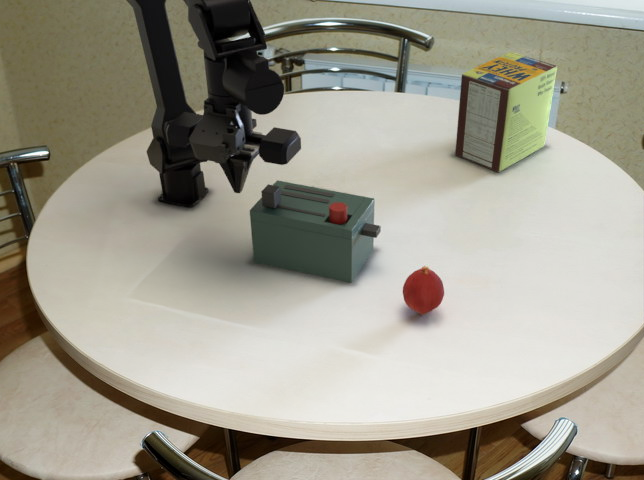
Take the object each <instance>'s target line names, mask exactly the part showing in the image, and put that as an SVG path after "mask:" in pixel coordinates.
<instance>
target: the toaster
mask: <svg viewBox="0 0 644 480" xmlns="http://www.w3.org/2000/svg"><path fill="white" fill-rule="evenodd" d="M272 185H274V186H280V189H281V202H280V203H279V204H278V205H277V206H276V208H270V207H264V206H262V196H261V197H260V198H259V199H258V200H257V202H255V204H254V205H253V206H252V207H250V209H249V220H250V230H251V231H250V232H251V243H252V244H251V245H252V255H253V263H256V264H260V265H265V266H269V267H275V268H279V269H284V270H288V271H292V272H293V271H294V272H298V273H303V274H307V275H311V276H317V277H322V278H327V279H331V280H335V281H340V282H345V283H349V284H352V283H353V282H354V280H355V278H356V277H357V276H358V274H359V272H361V269H362V268H363V266H364V265H365V263H366V262H367V260H368V259H369V257H370V255H371V254H372V253H373V251H374V238H375V239H377V238H378V237H379V235H380V233H381V231H382V229H381V228H382V226H381V225H378V224H375V198H374V197H369V196H364V195H358V194H352V193H348V192H342V191H337V190H331V189H327V188H322V187H321V188H320V187H315V186H310V185H304V184H299V183H293V182H288V181H283V180H279V179H278V180H276V181H275V182H274V183H273V184H272ZM337 202H340V203H344V204H346V205H347V222H346V223H344V224H340V225H338V224H333V223H331V222H330V221H329V206H330V205H331V204H332V203H337Z"/></svg>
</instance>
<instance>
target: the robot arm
mask: <svg viewBox="0 0 644 480" xmlns="http://www.w3.org/2000/svg"><path fill="white" fill-rule="evenodd" d="M125 1H126V2H127V3H128V4H129V5H130V6H131V8H132V10H133V13H134V17H135V21H136V22H135V23H136V25H137V30H138V33H139V34H138V35H139V38H140V42H141V46H142V51H143V55H144V59H145V63H146V68H147V71H148V75H149V79H150V80H149V81H150V84H151V88H152V92H153V96H154V100H155V104H156V109H155V112H154V115H153V119H152V121H151V125H150V127H151V132H152V140H151V142H150V143H149V146H148V147H147V149H146V155H147V159H148V162H149V165H150V166H152V167H153V168H154V169H155V170H156V171H157V172H158V173H159V174H158V175H159V180H160V186H161V192H162V193H161V194H160V195H159V196H158V197H157V201H159V202H160V203H161V202H162V203H165V204H171V205H176V206H181V207H187V208H192V207H194V206H195V205H196V204H197V203H198V202H199V201H200V200H201V199H202V198H203V197H204V196H205V195H206V194H207V193H209V188H208V187H206V182H205V175H204V171H203V170H202V167H201V163H207V162H213V163H215V164H219V166H220V167H221V169H222V171H223V173H224V175H225V177H226V179H227V181H228V182H229V185H230V187H231V188H232V191H233V193H235V194H242V192H243V191H244V187H245V185H246V184H245V183H246V180H247V178H248V176H249V172H250V169H251V167H252V164H253V161H254V160H255V159H256V158H257V157H258V156H259V157H260V158H261V160H262V161H263V162H264V163H268V164H275V165H279V166H284V165H288V164H289V163H290V162H291V160H292V159H293V158H294V157H295V156H296V155H297V154H298V153H299V152H300V151H301V150H302V138H301V136H300V134H299V133H298V132H297V131H296V130H292V129H287V128H281V127H275V126H274V127H273V128H272V129H270V130H269V132H268V133H267V134H264V133H263V132H258V131H254V129H255V128H257V126H258V123H257V118H253V113H254V114H256V115H260V116H261V115H263V116H265V115H268V114H270V113H272V112H274V111H275V110H276V109H277V108H278V107H279V106H280V105H281V102H282V100H284V99H283V98H284V94H285V84H284V82H283V79H282V78H281V76H280V75H279V74H278V72H277V71H275V70H273V69H272V68H270V61H269V59H268V58H267V57H265V56H261V55H258V52H261V51H265V50H267V49H268V45H267V42H266V39H265V36H266V32H265V30H264V28H263V26H262V23H261V21H260V19H259V17H258V15H257V13H256V10H255V8H254V6H253V3H252V1H251V0H182V2H184V3H185V5H186V7H187V22H188V23H189V24H190V27H191V29H192V30H193V32H194V34H195V36H196V38H197V40H198V41H197V47H198V48H199V49H201V50H203V61H204V70H205V79H206V88H207V95H208V96H207V98H206V99H205V100H203V107H202V108H203V114H200V113H197V112H196V111H195V110H194V109H193V108H192V107H191V105H189V103H188V101H187V97H186V92H185V88H184V87H185V86H184V83H183V79H182V73H181V69H180V66H179V61H178V55H177V52H176V46H175V43H174V38H173V34H172V29H171V25H170V19H169V15H168V12H167V7H166V2H167V0H125ZM247 34H248V37H243V38H238V37H240V36H241V37H242V36H245V35H247ZM236 37H237V39H233V40H231V39H232V38H236Z"/></svg>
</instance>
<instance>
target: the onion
mask: <svg viewBox="0 0 644 480" xmlns="http://www.w3.org/2000/svg"><path fill="white" fill-rule="evenodd" d="M402 296H403V301H404V303H405V304H406V305H407V306H408V308H409V309H411V310H412V311H414V312H416V313H417V314H419V315H426V314H428V313H430V312H432V311H435V309H438V307H439V306H440V305H441V304H442V302H443V300H444V297H445V286H444V283H443V279H441V277H440V276H439V275H438V274H437V273H436V272H435V271H433V269H430V268H429V267H428V266H426V265H423V266H422V267H421V268H419V269H417V270H414V271H413V272H412V273H410V274H409V275H408V276H407V278H406V279H405V281H404V283H403V286H402Z"/></svg>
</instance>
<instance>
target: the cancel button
mask: <svg viewBox="0 0 644 480" xmlns="http://www.w3.org/2000/svg"><path fill="white" fill-rule="evenodd" d="M329 221H330V222H331V223H333V224H338V225H340V224H344V223H346V222H347V205H346V204H344V203H340V202H337V203H332V204H331V205H330V206H329Z"/></svg>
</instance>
